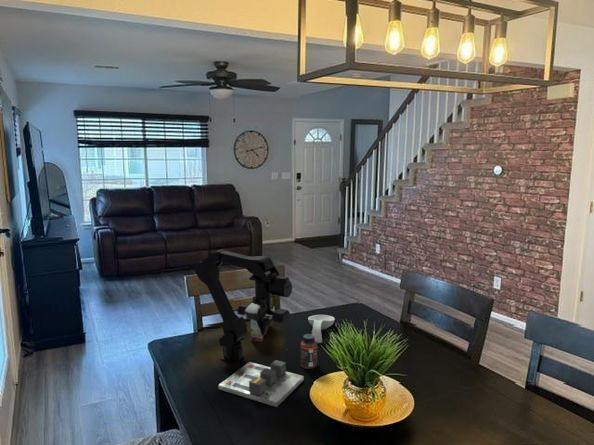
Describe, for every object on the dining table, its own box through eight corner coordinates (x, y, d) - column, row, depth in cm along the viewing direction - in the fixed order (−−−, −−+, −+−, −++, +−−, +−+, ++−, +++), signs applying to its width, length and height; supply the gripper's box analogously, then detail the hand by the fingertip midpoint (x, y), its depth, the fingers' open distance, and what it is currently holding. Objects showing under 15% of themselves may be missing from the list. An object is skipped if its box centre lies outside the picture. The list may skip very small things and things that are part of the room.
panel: (218, 389, 146) (218, 384, 146) (249, 365, 162) (249, 361, 161) (276, 407, 136) (276, 402, 135) (303, 380, 151) (303, 375, 151)
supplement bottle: (315, 370, 158) (315, 340, 156) (299, 368, 159) (299, 338, 157) (318, 362, 164) (318, 333, 162) (302, 361, 165) (302, 332, 163)
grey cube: (249, 392, 141) (249, 381, 140) (255, 386, 144) (255, 376, 143) (259, 395, 139) (259, 384, 138) (265, 389, 142) (265, 379, 142)
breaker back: (270, 373, 152) (270, 364, 152) (275, 369, 155) (275, 360, 155) (280, 376, 150) (280, 366, 150) (285, 372, 153) (285, 362, 153)
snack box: (263, 341, 182) (263, 306, 179) (250, 341, 182) (249, 306, 179) (267, 321, 203) (267, 290, 200) (255, 321, 203) (254, 289, 200)
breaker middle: (260, 382, 147) (260, 372, 146) (265, 377, 150) (265, 368, 149) (270, 385, 145) (270, 375, 144) (276, 380, 148) (276, 370, 147)
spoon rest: (309, 320, 204) (309, 305, 203) (335, 322, 202) (335, 307, 201) (302, 342, 181) (302, 326, 180) (331, 344, 179) (331, 327, 178)
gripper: (227, 295, 154) (228, 338, 156) (274, 304, 145) (274, 349, 148) (245, 286, 163) (246, 327, 166) (290, 294, 155) (290, 336, 157)
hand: (263, 335), depth 159 cm, fingers closed
